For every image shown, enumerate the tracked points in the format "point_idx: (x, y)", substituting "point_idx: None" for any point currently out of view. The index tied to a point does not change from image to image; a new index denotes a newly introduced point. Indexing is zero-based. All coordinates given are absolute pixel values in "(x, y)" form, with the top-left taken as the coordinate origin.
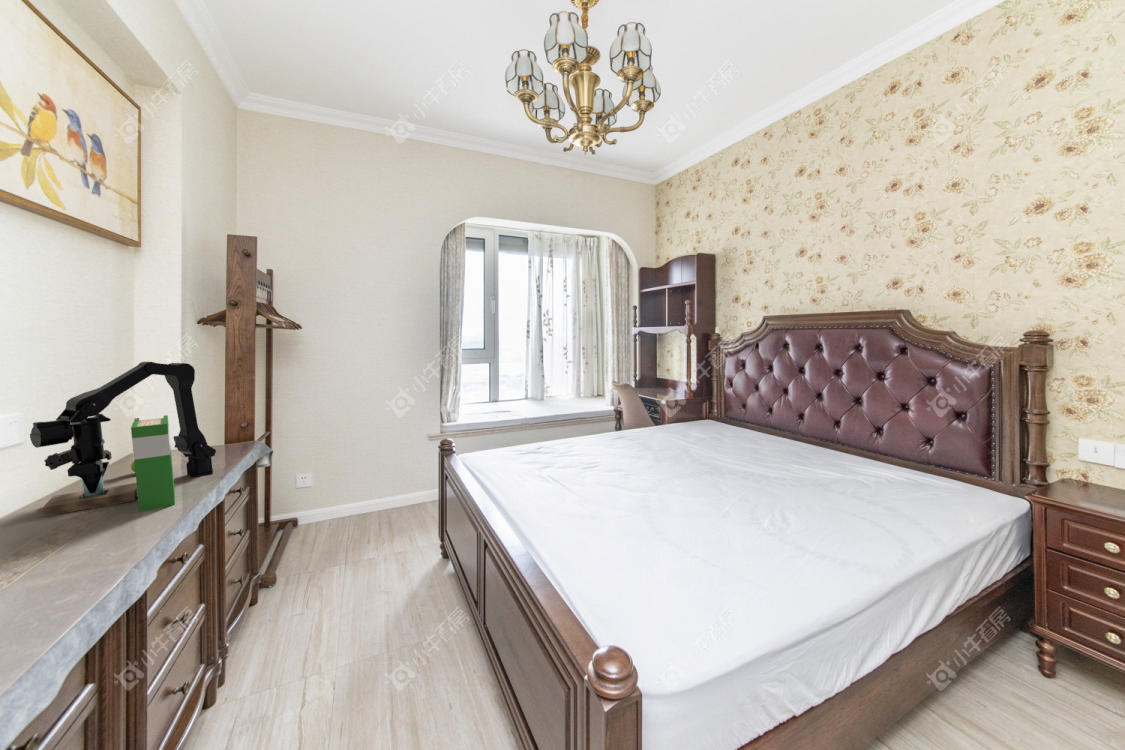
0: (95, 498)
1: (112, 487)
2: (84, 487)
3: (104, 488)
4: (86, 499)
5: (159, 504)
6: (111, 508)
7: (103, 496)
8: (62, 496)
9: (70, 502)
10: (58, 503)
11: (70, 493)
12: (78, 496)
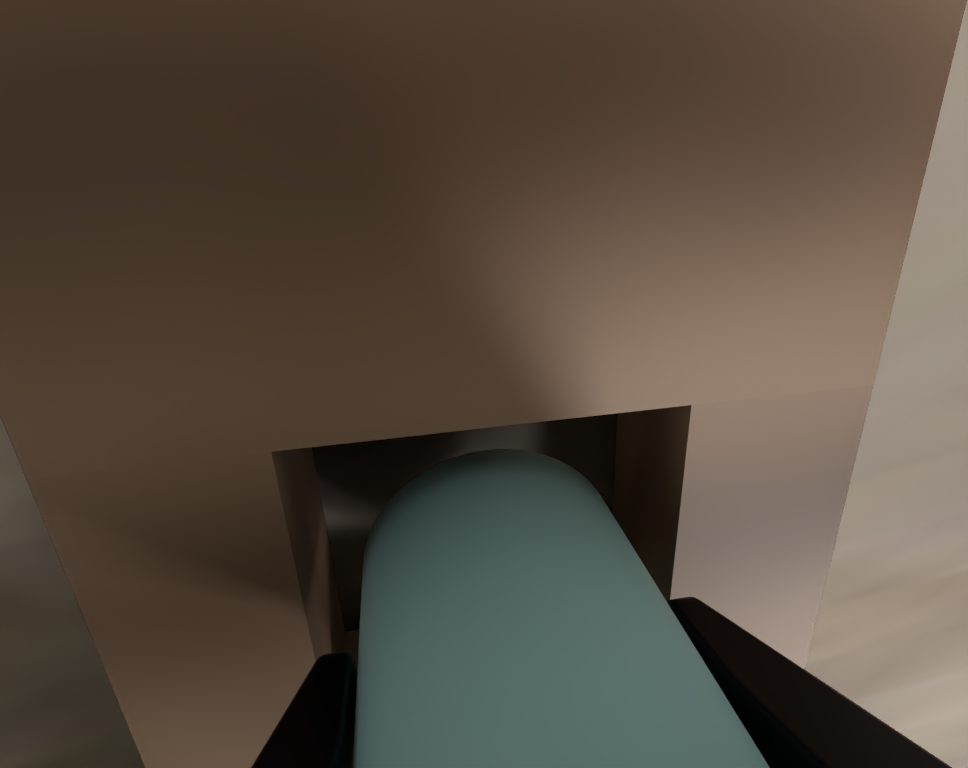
0: (133, 702)
1: None
2: (418, 686)
3: (772, 620)
4: (142, 593)
5: None
6: (8, 750)
7: (210, 762)
8: (759, 60)
9: (27, 385)
10: (59, 140)
11: (904, 169)
12: (502, 393)
